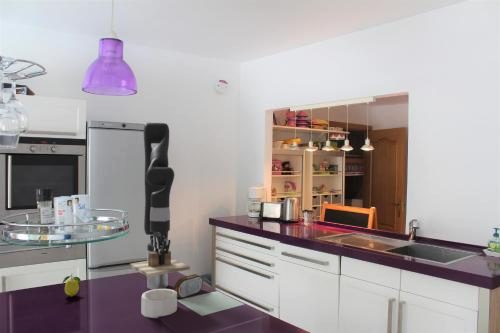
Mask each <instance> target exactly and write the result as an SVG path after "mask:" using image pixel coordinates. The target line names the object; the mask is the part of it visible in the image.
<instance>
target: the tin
mask: <svg viewBox="0 0 500 333" xmlns="http://www.w3.org/2000/svg"><path fill="white" fill-rule="evenodd" d="M203 279H204V278H203V277H202V276H201V275H198V274H196V273H193V274H191V275H187V276H182V277H180V278H179V279H177V280H176V282H175V284H174V286H173V290H174V291H176V292H177V298H180V299H183V298H186V297H188V296H191V295H194V294H196V293H199V292H201V291H202V289H203V286H204V285H203V284H204V280H203Z"/></svg>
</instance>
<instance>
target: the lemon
mask: <svg viewBox="0 0 500 333" xmlns="http://www.w3.org/2000/svg"><path fill="white" fill-rule="evenodd" d="M81 280H82V279H81V278H80V277H79V276H73V274H71V275H68V276H66V277H64V278H63V281H62V282H61V283H62V284H64V283H65V285H64V293H65V294H66V295H67V296H70V297H73V296H74V295H77V294H78V292H79V289H80V284H79V283H81V282H82V281H81Z"/></svg>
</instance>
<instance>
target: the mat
mask: <svg viewBox="0 0 500 333" xmlns="http://www.w3.org/2000/svg"><path fill="white" fill-rule="evenodd" d="M177 303H180V304H182V305H183V306H184V307H186V308H188V309H190V310H192V311H193V312H195V313H196V314H198V315H200V316H202V317H203V316H206V315H211V314H213V313H217V312H222V311H226V310H228V309H229V310H230V309H232V308H236V307H240V306H244V305H245V303H243V302H241V301H239V300H236V299H235V298H233V297H231V296H229V295H226V294H225V293H222V292H221V291H218V290H216V291H212V292H207V293H203V294H199V295H194V296H190V297H184V298H180V299H177Z"/></svg>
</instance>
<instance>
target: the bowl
mask: <svg viewBox="0 0 500 333" xmlns="http://www.w3.org/2000/svg"><path fill="white" fill-rule="evenodd" d="M177 300H178V297H177V292H176V291H174V289H170V288H163V289H149V290H147V291H145V292H142V295H141V300H140V302H141V303H140V305H141V306H140V307H141V309H140V312H141V314H140V315H142V316H144V317H145V318H151V319H158V318H159V317H164V316H169V315H172V314H173V313H175V312H177V309H178V301H177Z"/></svg>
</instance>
